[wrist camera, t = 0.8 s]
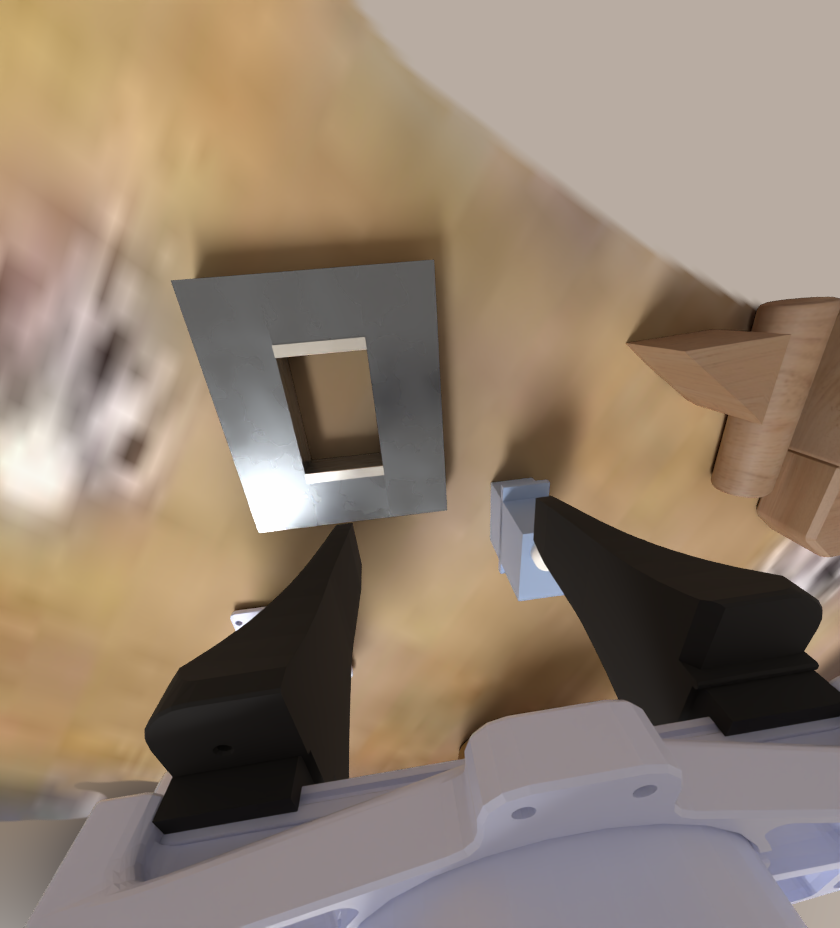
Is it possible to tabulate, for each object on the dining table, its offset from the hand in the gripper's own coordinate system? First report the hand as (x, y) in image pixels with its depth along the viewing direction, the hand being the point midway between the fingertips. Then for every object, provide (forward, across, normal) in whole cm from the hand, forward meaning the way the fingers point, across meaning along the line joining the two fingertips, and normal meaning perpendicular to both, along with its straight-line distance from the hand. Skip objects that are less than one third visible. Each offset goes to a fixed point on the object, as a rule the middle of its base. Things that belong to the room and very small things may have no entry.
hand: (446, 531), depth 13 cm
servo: (+10, -6, +6) cm, 13 cm away
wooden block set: (+10, -22, +3) cm, 24 cm away
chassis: (+10, +5, -3) cm, 11 cm away
